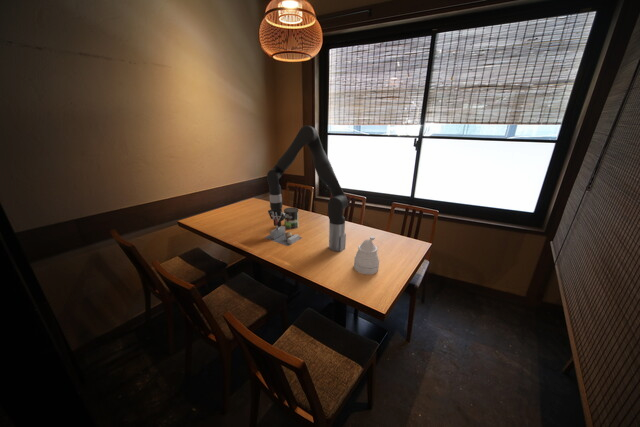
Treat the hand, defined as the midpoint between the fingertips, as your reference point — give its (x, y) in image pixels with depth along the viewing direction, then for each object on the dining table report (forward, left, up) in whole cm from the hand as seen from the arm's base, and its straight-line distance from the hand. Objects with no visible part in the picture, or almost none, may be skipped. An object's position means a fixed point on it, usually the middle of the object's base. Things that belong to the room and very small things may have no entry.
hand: (277, 225), depth 162 cm
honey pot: (-63, 0, -9) cm, 63 cm away
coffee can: (+3, -18, -9) cm, 20 cm away
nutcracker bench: (-4, 0, -9) cm, 10 cm away
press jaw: (0, 0, -7) cm, 7 cm away
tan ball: (-9, 0, -4) cm, 10 cm away
